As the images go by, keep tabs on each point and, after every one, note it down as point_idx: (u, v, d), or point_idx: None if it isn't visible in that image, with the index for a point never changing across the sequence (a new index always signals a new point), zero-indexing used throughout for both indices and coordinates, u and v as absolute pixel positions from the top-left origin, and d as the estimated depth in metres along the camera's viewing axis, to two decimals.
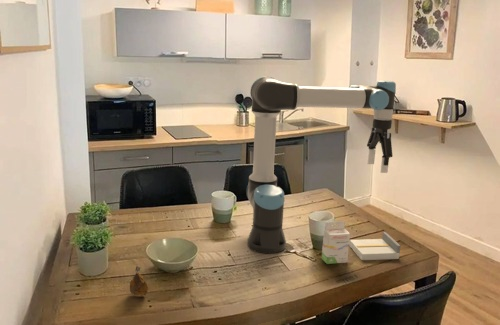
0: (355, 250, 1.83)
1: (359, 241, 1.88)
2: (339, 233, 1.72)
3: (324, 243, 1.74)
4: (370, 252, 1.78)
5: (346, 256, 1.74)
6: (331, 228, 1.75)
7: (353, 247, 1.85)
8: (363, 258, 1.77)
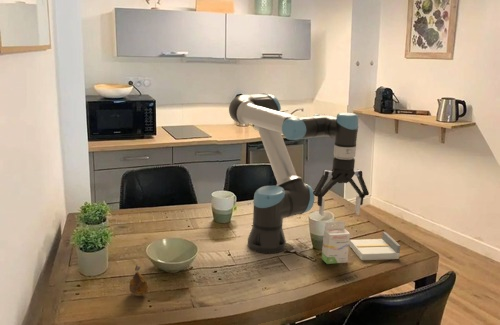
0: (355, 250, 1.83)
1: (359, 241, 1.88)
2: (339, 233, 1.72)
3: (324, 243, 1.74)
4: (370, 252, 1.78)
5: (346, 256, 1.74)
6: (331, 228, 1.75)
7: (353, 247, 1.85)
8: (363, 258, 1.77)
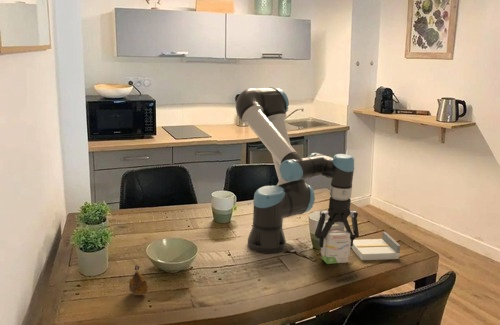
0: (355, 250, 1.83)
1: (359, 241, 1.88)
2: (339, 233, 1.72)
3: None
4: (370, 252, 1.78)
5: (346, 256, 1.74)
6: (331, 228, 1.75)
7: (353, 247, 1.85)
8: (363, 258, 1.77)
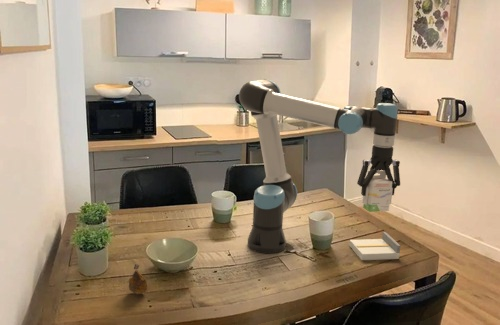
0: (355, 250, 1.83)
1: (359, 241, 1.88)
2: (382, 181, 1.76)
3: None
4: (370, 252, 1.78)
5: (388, 204, 1.78)
6: (373, 177, 1.79)
7: (353, 247, 1.85)
8: (363, 258, 1.77)
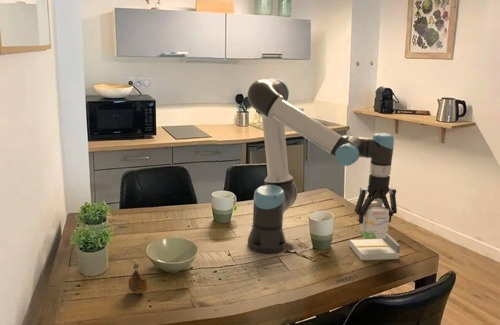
0: (355, 250, 1.83)
1: (359, 241, 1.88)
2: (378, 209, 1.79)
3: None
4: (370, 252, 1.78)
5: (385, 232, 1.81)
6: (370, 204, 1.82)
7: (353, 247, 1.85)
8: (363, 258, 1.77)
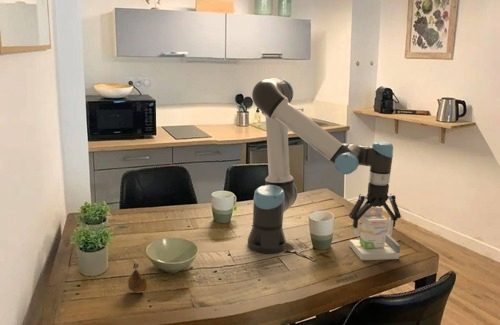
0: (355, 250, 1.83)
1: (359, 241, 1.88)
2: (377, 218, 1.80)
3: (362, 228, 1.82)
4: (370, 252, 1.78)
5: (383, 241, 1.82)
6: (369, 214, 1.83)
7: (353, 247, 1.85)
8: (363, 258, 1.77)
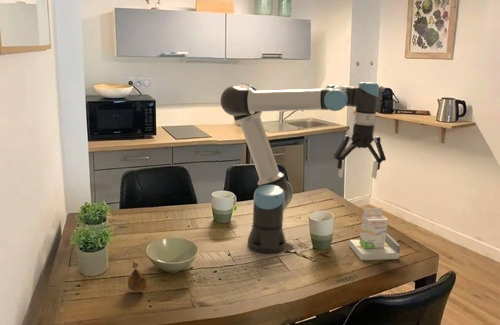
0: (355, 250, 1.83)
1: (359, 241, 1.88)
2: (377, 218, 1.80)
3: (362, 228, 1.82)
4: (370, 252, 1.78)
5: (383, 241, 1.82)
6: (369, 214, 1.83)
7: (353, 247, 1.85)
8: (363, 258, 1.77)
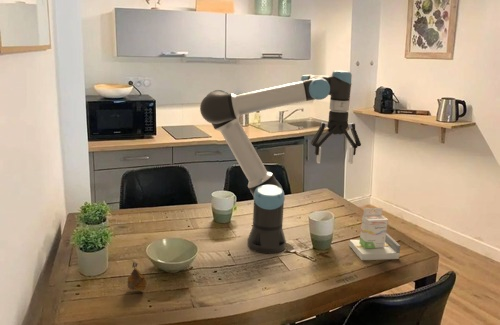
0: (355, 250, 1.83)
1: (359, 241, 1.88)
2: (377, 218, 1.80)
3: (362, 228, 1.82)
4: (370, 252, 1.78)
5: (383, 241, 1.82)
6: (369, 214, 1.83)
7: (353, 247, 1.85)
8: (363, 258, 1.77)
